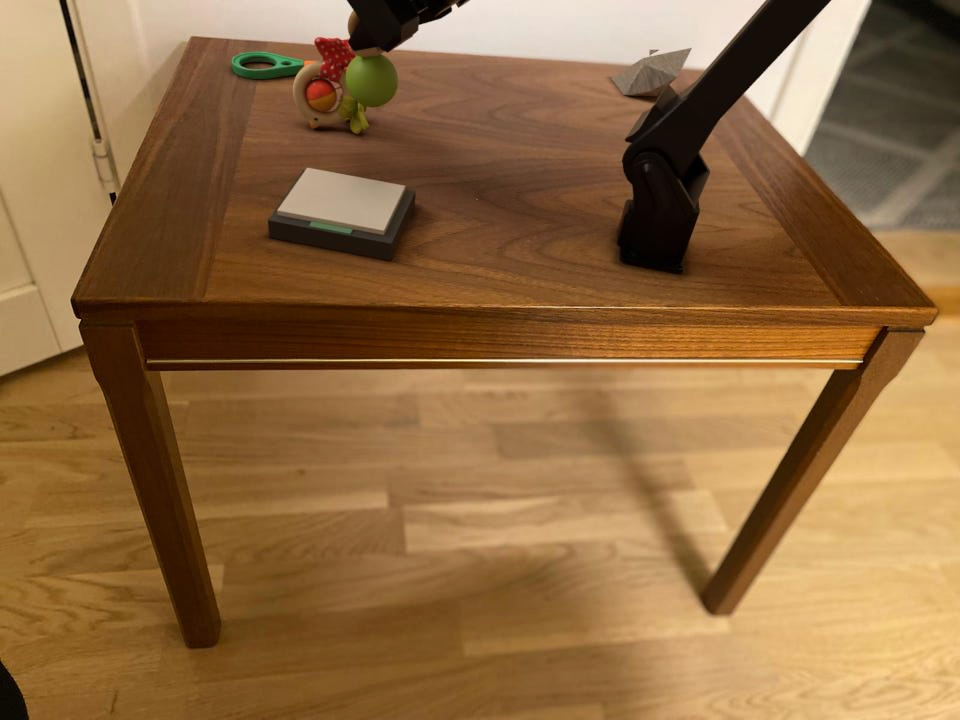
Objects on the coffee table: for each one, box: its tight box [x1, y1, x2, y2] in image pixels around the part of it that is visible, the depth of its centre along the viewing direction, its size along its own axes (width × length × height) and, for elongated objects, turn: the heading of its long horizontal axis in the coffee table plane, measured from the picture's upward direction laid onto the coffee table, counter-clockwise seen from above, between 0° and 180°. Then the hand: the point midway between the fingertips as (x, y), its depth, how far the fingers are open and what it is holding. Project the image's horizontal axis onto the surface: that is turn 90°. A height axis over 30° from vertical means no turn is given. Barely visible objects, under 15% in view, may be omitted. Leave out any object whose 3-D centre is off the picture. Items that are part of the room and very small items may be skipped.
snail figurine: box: [346, 9, 399, 108], centre depth 75 cm, size 5×6×12 cm
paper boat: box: [610, 47, 693, 98], centre depth 106 cm, size 12×6×9 cm
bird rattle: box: [292, 36, 370, 135], centre depth 85 cm, size 6×11×9 cm
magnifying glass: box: [231, 51, 348, 80], centre depth 98 cm, size 15×6×2 cm, turn 96°
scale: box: [267, 167, 417, 261], centre depth 74 cm, size 12×10×3 cm
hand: (364, 38), depth 75 cm, fingers closed on snail figurine, 5 cm apart
